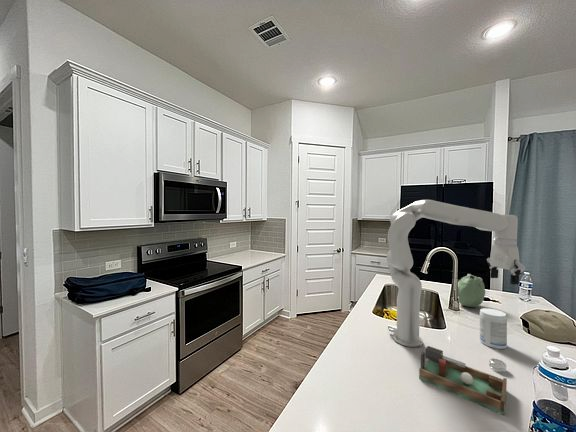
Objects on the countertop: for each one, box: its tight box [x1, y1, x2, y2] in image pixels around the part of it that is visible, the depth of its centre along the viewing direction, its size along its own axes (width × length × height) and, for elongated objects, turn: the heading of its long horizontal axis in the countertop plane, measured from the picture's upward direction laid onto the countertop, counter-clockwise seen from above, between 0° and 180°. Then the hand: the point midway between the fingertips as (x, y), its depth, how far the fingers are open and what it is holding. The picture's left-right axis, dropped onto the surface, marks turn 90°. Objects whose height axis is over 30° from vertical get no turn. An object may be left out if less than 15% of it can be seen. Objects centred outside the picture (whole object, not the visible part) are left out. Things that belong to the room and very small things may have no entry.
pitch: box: [418, 351, 508, 416], centre depth 86 cm, size 24×14×6 cm, turn 46°
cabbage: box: [457, 273, 486, 308], centre depth 158 cm, size 16×19×20 cm
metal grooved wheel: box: [488, 358, 507, 374], centre depth 95 cm, size 5×3×5 cm
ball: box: [460, 372, 473, 385], centre depth 85 cm, size 4×4×4 cm
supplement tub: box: [479, 307, 508, 350], centre depth 112 cm, size 10×10×15 cm
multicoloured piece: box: [424, 345, 467, 377], centre depth 89 cm, size 12×3×7 cm, turn 46°
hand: (503, 280), depth 110 cm, fingers open, 9 cm apart
